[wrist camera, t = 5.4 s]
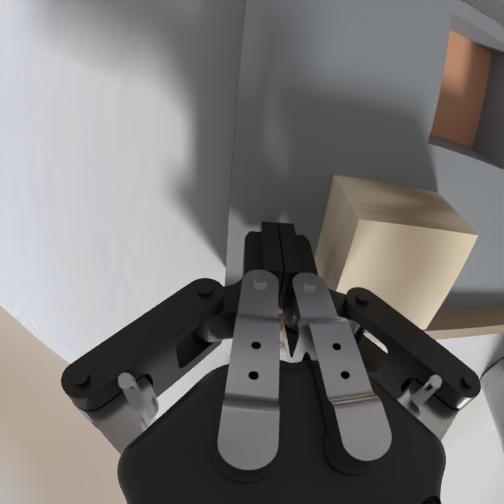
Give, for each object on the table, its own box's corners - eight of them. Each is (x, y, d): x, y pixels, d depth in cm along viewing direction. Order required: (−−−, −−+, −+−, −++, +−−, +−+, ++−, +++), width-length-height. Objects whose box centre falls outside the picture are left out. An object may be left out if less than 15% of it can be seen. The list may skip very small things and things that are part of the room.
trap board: (588, 123, 12) (636, 155, 6) (522, 286, 23) (551, 331, 18) (253, -36, 10) (252, -89, 4) (228, 271, 22) (220, 352, 16)
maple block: (437, 192, 14) (478, 235, 10) (402, 279, 17) (425, 329, 14) (333, 174, 13) (359, 219, 10) (310, 275, 17) (321, 331, 14)
